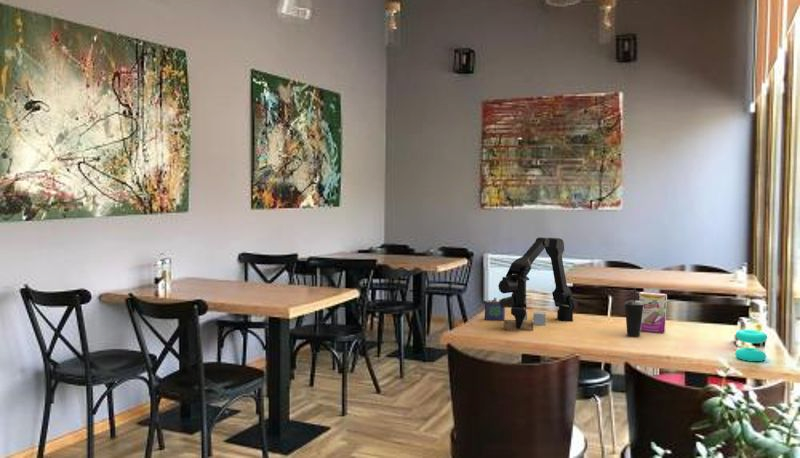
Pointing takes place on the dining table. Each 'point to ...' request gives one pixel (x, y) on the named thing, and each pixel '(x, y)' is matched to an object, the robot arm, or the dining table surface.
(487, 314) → the flask
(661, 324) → the candy bar box
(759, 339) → the teal stacked rounded discs
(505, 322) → the lintel
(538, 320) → the pillar
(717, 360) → the dining table surface
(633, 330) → the drinking cup
